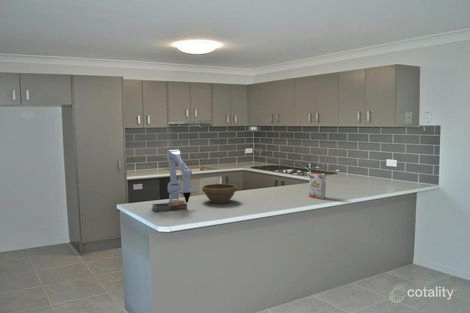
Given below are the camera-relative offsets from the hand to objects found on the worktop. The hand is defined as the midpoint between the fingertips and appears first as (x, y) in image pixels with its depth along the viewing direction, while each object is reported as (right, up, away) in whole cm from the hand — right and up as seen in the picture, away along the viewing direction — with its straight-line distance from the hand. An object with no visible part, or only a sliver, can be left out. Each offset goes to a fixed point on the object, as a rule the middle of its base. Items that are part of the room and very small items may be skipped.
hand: (186, 202), depth 319 cm
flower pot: (+25, -3, +25) cm, 35 cm away
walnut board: (-7, -5, +1) cm, 9 cm away
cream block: (-10, -1, +3) cm, 10 cm away
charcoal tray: (-19, -5, -4) cm, 20 cm away
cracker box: (+109, -1, +42) cm, 117 cm away
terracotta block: (-4, -1, -2) cm, 4 cm away
